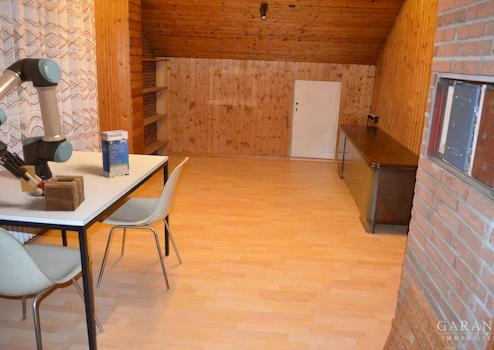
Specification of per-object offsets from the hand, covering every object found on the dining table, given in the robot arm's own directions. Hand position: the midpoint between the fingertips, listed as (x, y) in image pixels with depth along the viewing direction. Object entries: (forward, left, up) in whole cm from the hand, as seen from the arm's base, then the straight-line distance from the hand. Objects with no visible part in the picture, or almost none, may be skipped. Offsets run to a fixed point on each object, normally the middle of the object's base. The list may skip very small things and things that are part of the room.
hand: (37, 183), depth 187 cm
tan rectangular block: (0, -4, -3) cm, 5 cm away
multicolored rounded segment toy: (-19, -4, -11) cm, 23 cm away
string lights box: (-58, +22, -11) cm, 63 cm away
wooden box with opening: (-3, +10, -11) cm, 15 cm away
